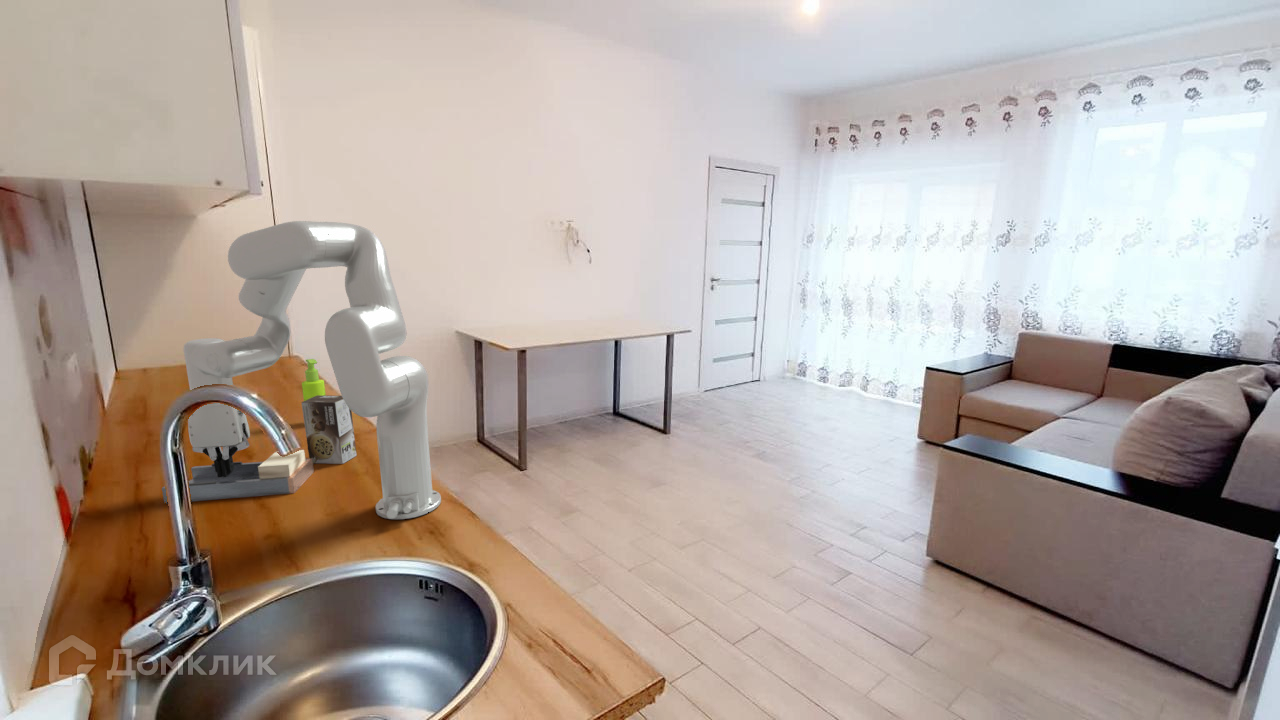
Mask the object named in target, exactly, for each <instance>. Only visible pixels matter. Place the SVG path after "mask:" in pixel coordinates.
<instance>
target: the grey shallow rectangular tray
mask: <svg viewBox="0 0 1280 720" xmlns="http://www.w3.org/2000/svg"><path fill="white" fill-rule="evenodd" d="M305 460H306V461H305V462H304V463H303V464H302V465H301V466H300V467H299V468H298V469H297V470H296V471H295V472H294V473H293V474H292V475H291V476H290V477H279V478H266V479H260V478H259V471H258V466H260V465H261V464H262V463H263V462H264V461H256V462H253V461H252V462H242V461H233V465H234V470H233V472H232V473H231V474H230V475H228V476H227V477H223V476H222V477H218V475H217V473H216V471H215V466H214V463H212V464H211V465H198V466H197V465H196V466H192V467H190V470H191V474H192V475H191V476H192V479H190V480H188V482H189V488H190V494H191V500H192V501H191V502H201V501H202V502H203V501H212V500H213V501H214V500H223V499H225V500H226V499H236V498H237V499H238V498H250V497H251V498H252V497H262V496H273V495H274V496H275V495H276V496H277V495H287V494H295V493H296V492H297V491H298V490H299V489H300V488H301V486H302V485H303V484H305V482H306V481H307V480H308V479H309V478H310V476H312V474H313V473H314V472H315V470H314V463H313V461H312V458H309V457H308V458H305ZM165 486H166V485H164V486H162V487H161V491H162V498H163V503H164V504H165V502H166V504H168V503H167V496H166V489H165Z"/></svg>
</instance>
